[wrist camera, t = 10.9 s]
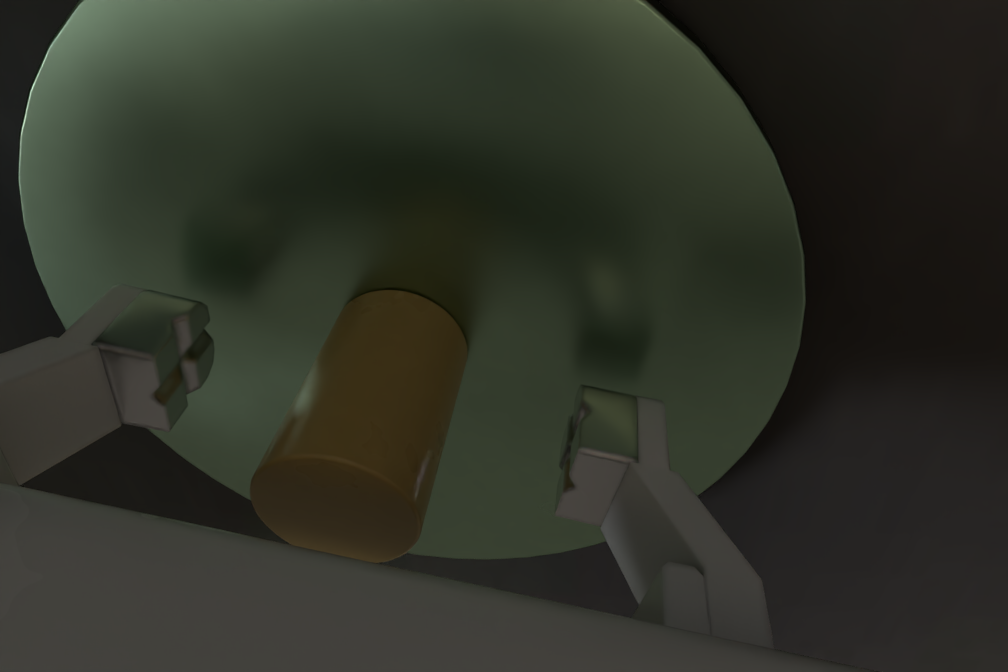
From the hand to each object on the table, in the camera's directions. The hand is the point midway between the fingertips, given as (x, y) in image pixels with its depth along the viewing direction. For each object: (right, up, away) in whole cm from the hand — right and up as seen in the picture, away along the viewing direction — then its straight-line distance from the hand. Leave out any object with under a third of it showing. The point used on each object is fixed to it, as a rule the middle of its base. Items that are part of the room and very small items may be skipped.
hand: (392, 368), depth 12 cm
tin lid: (0, +1, +1) cm, 2 cm away
